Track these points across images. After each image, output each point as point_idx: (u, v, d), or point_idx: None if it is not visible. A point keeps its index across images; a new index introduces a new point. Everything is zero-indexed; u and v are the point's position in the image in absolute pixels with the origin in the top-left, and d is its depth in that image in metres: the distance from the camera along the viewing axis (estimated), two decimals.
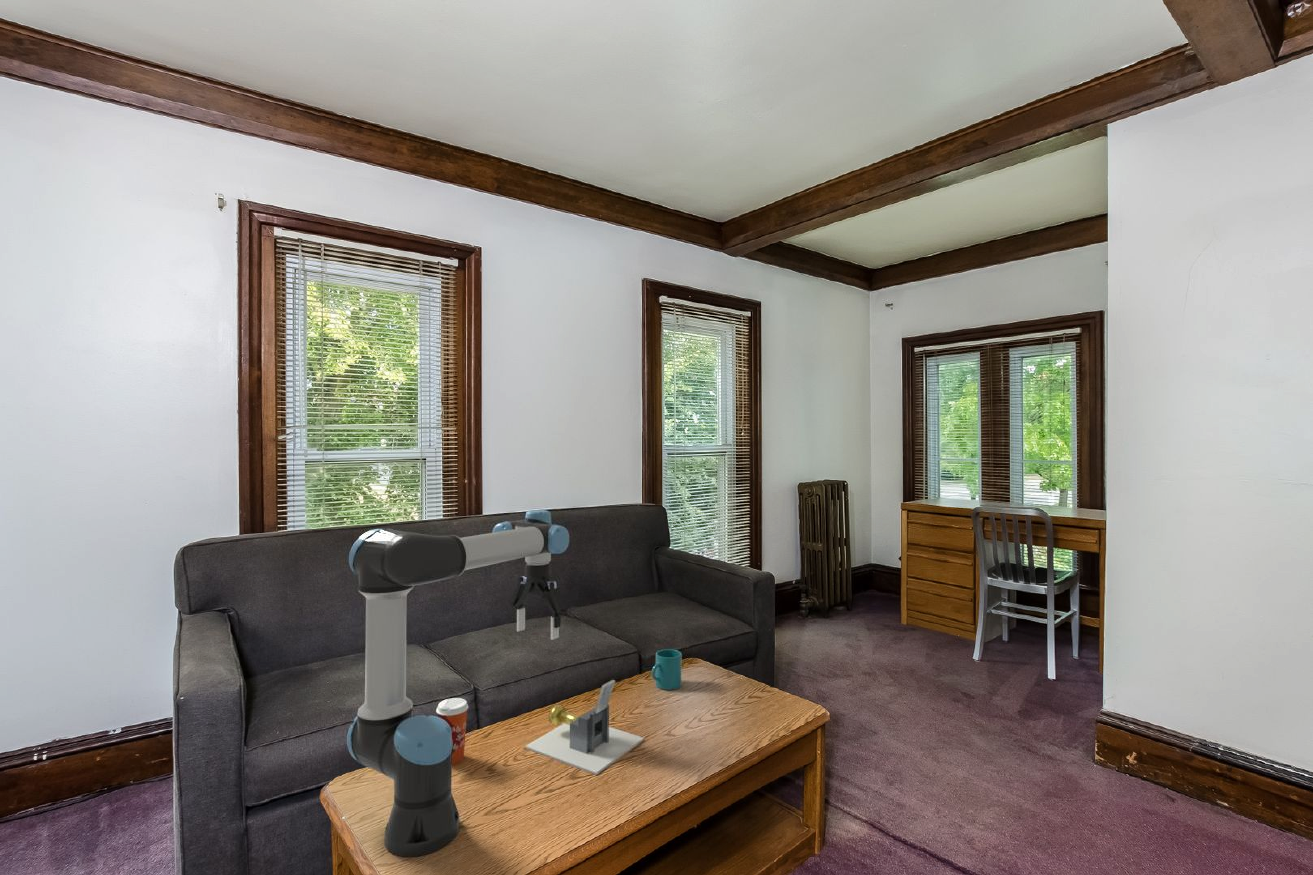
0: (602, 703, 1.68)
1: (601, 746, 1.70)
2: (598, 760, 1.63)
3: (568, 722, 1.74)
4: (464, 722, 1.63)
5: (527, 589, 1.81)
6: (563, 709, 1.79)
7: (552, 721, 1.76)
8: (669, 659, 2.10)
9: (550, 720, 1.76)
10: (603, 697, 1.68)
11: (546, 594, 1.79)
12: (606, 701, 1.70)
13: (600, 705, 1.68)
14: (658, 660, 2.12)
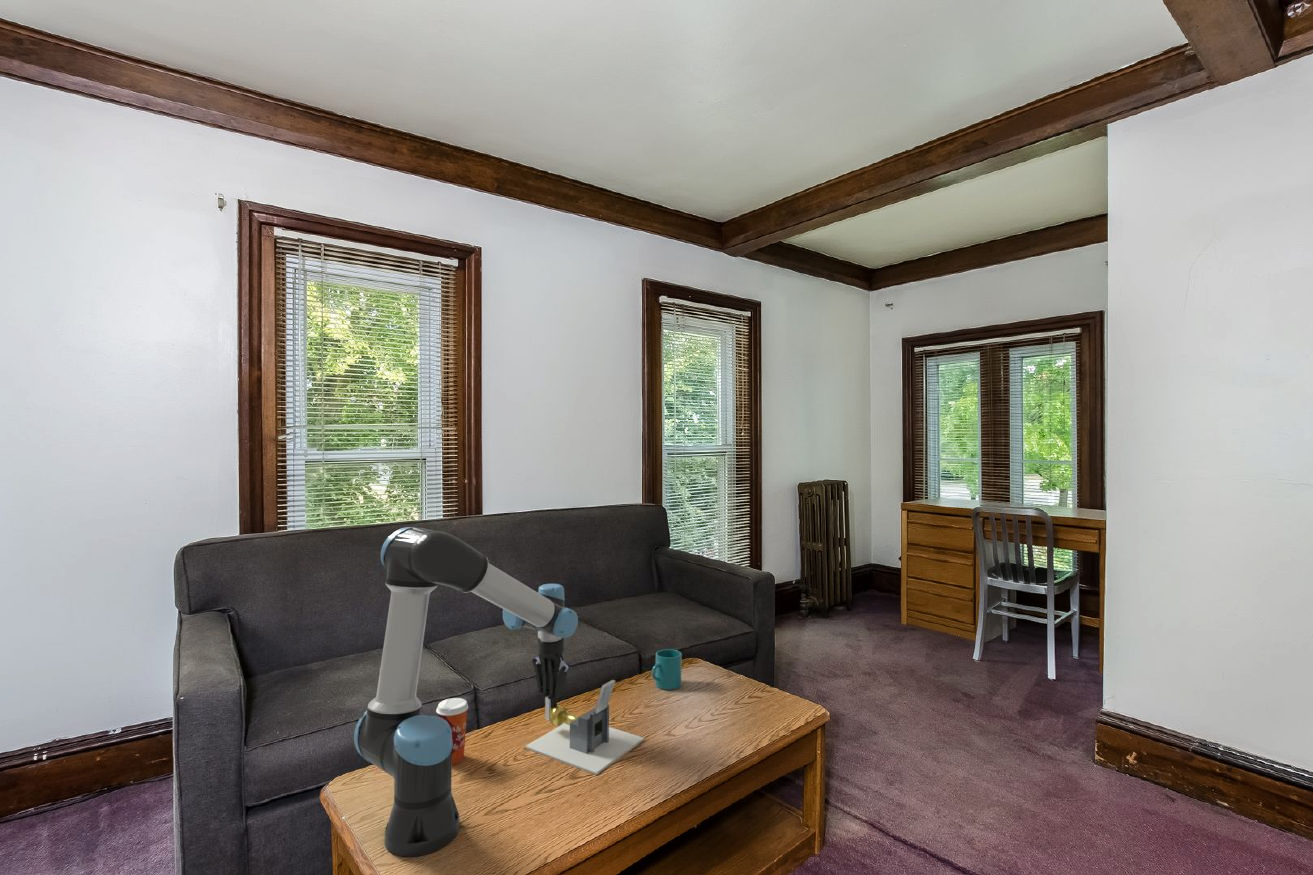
0: (602, 703, 1.68)
1: (601, 746, 1.70)
2: (598, 760, 1.63)
3: (569, 722, 1.74)
4: (464, 722, 1.63)
5: (543, 667, 1.79)
6: (564, 709, 1.79)
7: (553, 721, 1.76)
8: (669, 659, 2.10)
9: (551, 720, 1.76)
10: (603, 697, 1.68)
11: (554, 673, 1.78)
12: (606, 701, 1.70)
13: (600, 705, 1.68)
14: (658, 660, 2.12)
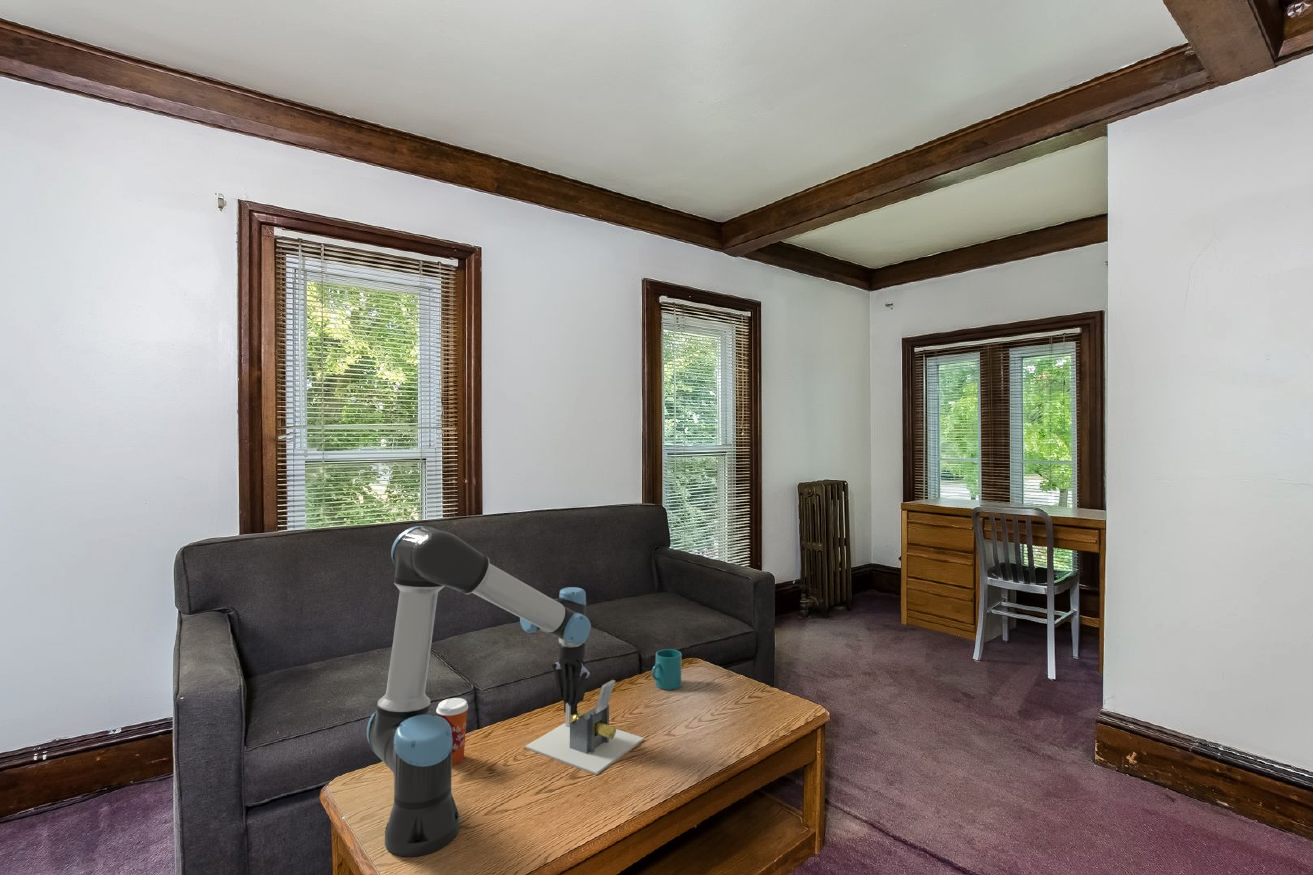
0: (602, 703, 1.68)
1: (601, 746, 1.70)
2: (598, 760, 1.63)
3: None
4: (464, 722, 1.63)
5: (564, 673, 1.75)
6: None
7: None
8: (669, 659, 2.10)
9: None
10: (603, 697, 1.68)
11: (574, 679, 1.74)
12: (606, 701, 1.70)
13: (600, 705, 1.68)
14: (658, 660, 2.12)
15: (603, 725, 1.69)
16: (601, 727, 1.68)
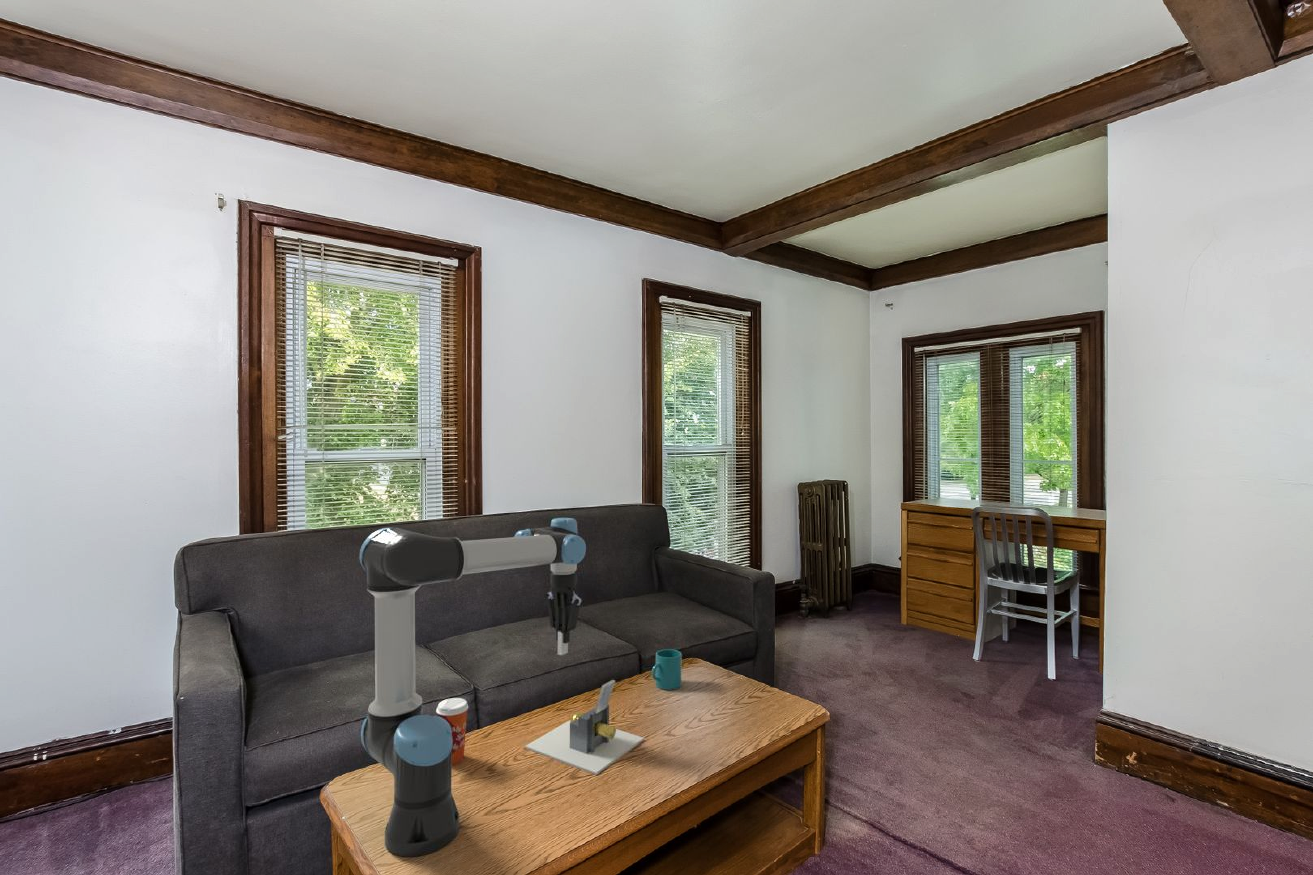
0: (602, 703, 1.68)
1: (601, 746, 1.70)
2: (598, 760, 1.63)
3: None
4: (464, 722, 1.63)
5: (556, 601, 1.76)
6: None
7: None
8: (669, 659, 2.10)
9: None
10: (603, 697, 1.68)
11: (566, 607, 1.76)
12: (606, 701, 1.70)
13: (600, 705, 1.68)
14: (658, 660, 2.12)
15: (603, 725, 1.69)
16: (601, 727, 1.68)
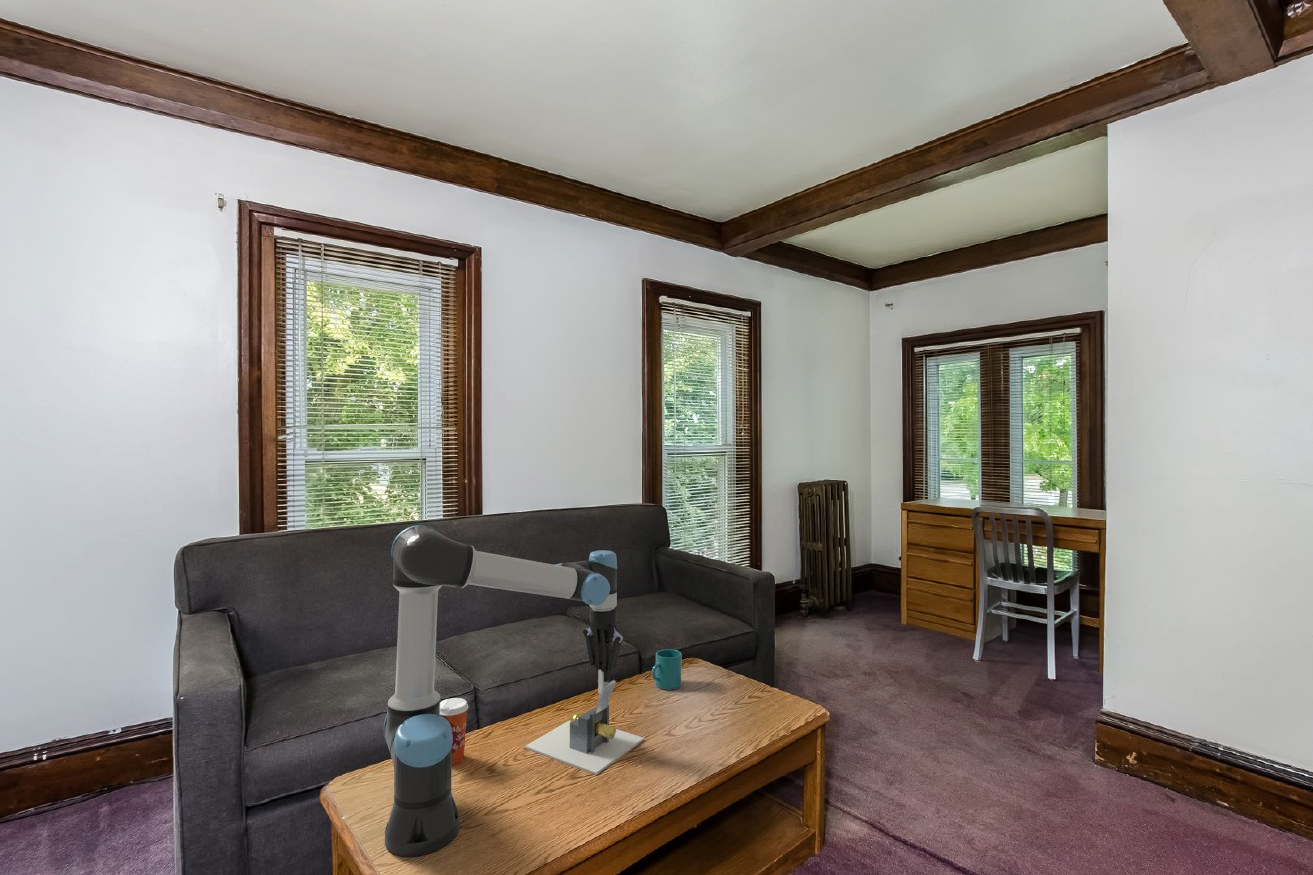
0: (602, 703, 1.68)
1: (601, 746, 1.70)
2: (598, 760, 1.63)
3: None
4: (464, 722, 1.63)
5: (595, 638, 1.69)
6: None
7: None
8: (669, 659, 2.10)
9: None
10: (603, 698, 1.68)
11: (607, 645, 1.68)
12: (606, 701, 1.70)
13: (600, 705, 1.68)
14: (658, 660, 2.12)
15: (603, 725, 1.69)
16: (601, 727, 1.68)
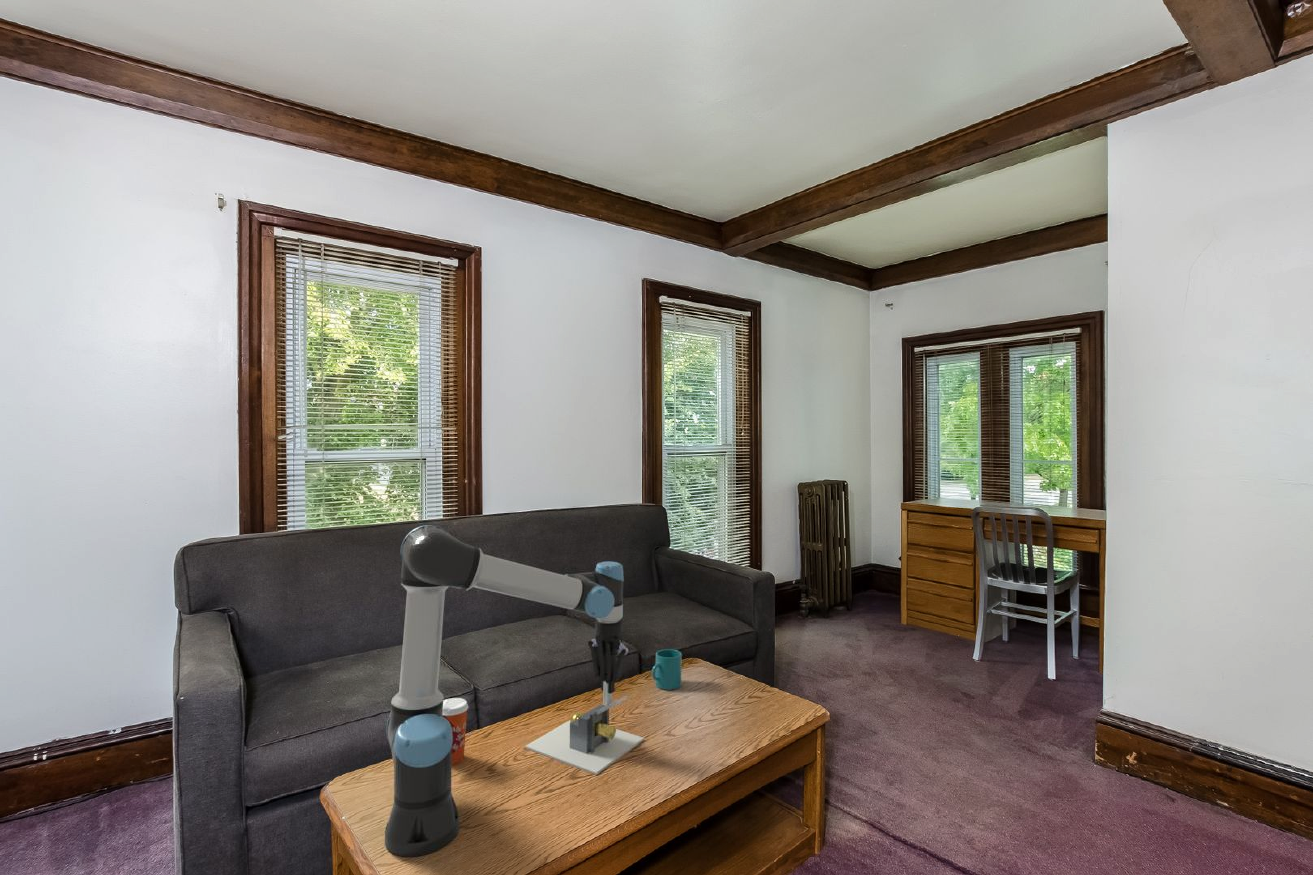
0: None
1: (601, 746, 1.70)
2: (598, 760, 1.63)
3: None
4: (464, 722, 1.63)
5: (601, 650, 1.68)
6: None
7: None
8: (669, 659, 2.10)
9: None
10: None
11: (612, 656, 1.67)
12: None
13: None
14: (658, 660, 2.12)
15: (603, 725, 1.69)
16: (601, 727, 1.68)
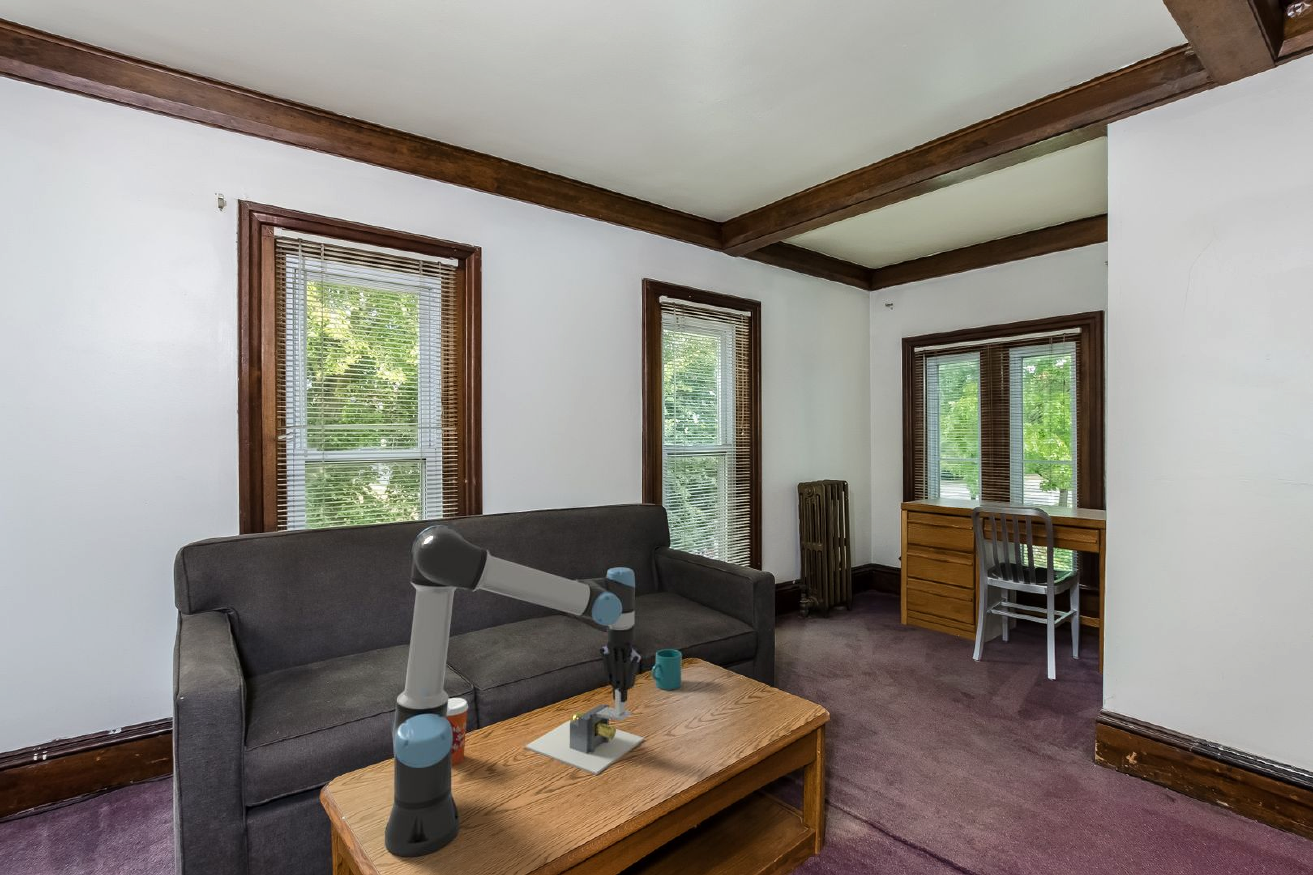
0: None
1: (601, 746, 1.70)
2: (598, 760, 1.63)
3: None
4: (464, 722, 1.63)
5: (613, 657, 1.65)
6: None
7: None
8: (669, 659, 2.10)
9: None
10: None
11: (624, 664, 1.65)
12: None
13: None
14: (658, 660, 2.12)
15: (603, 725, 1.69)
16: (601, 727, 1.68)
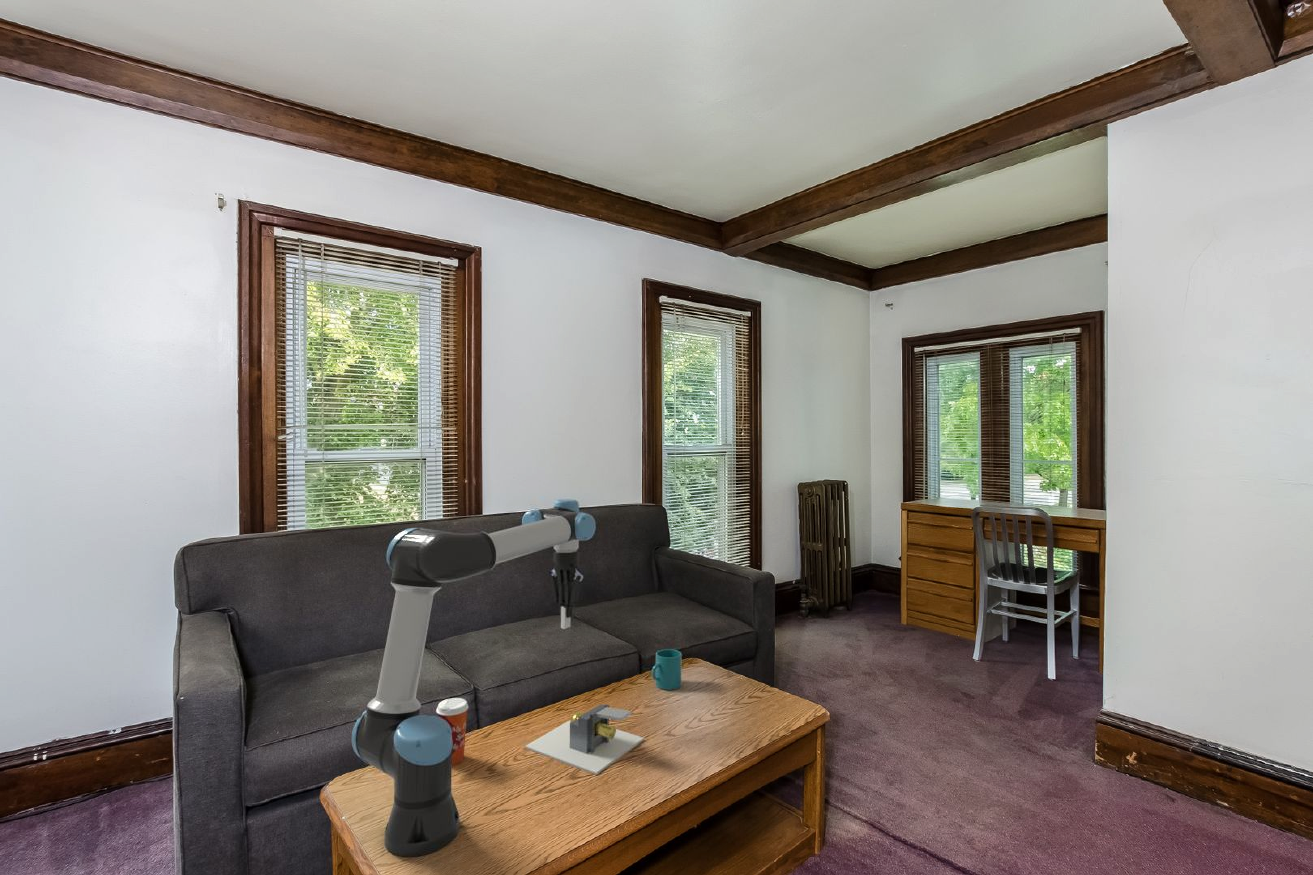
0: None
1: (601, 746, 1.70)
2: (598, 760, 1.63)
3: None
4: (464, 722, 1.63)
5: (559, 578, 1.86)
6: None
7: None
8: (669, 659, 2.10)
9: None
10: None
11: (569, 584, 1.86)
12: None
13: None
14: (658, 660, 2.12)
15: (603, 725, 1.69)
16: (601, 727, 1.68)
